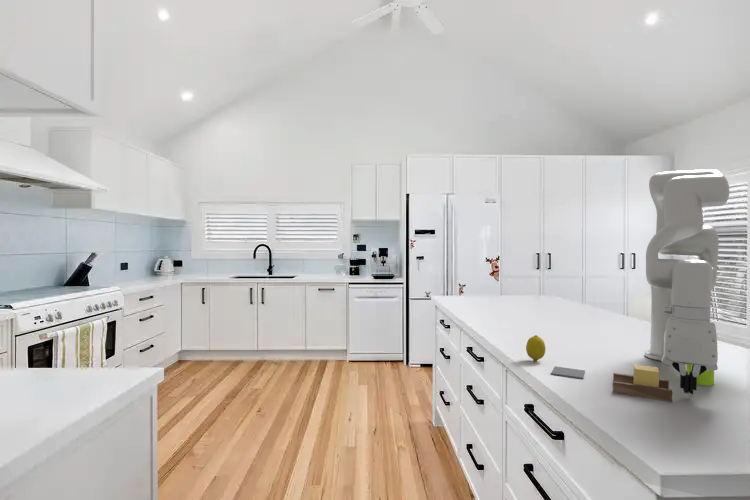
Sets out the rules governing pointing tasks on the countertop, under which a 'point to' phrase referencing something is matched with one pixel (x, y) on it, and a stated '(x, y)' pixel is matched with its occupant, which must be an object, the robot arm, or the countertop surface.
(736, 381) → the countertop surface
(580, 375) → the slate coaster
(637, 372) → the ochre block
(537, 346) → the lemon
